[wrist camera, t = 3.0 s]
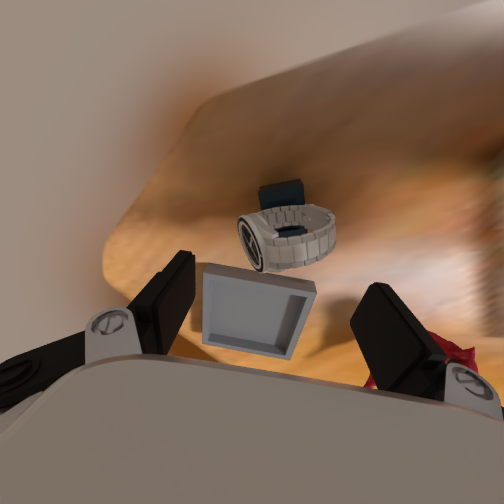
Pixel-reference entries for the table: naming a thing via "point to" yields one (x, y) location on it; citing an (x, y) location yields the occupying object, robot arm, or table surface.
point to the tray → (254, 310)
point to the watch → (286, 229)
